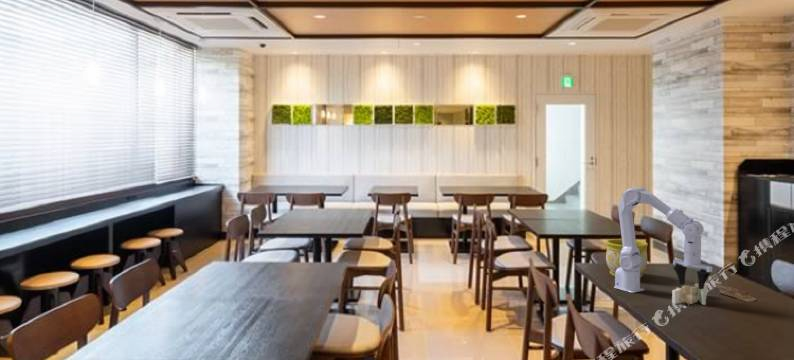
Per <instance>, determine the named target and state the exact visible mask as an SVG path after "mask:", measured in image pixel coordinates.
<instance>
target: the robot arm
mask: <svg viewBox="0 0 794 360" xmlns="http://www.w3.org/2000/svg"><path fill="white" fill-rule="evenodd" d="M621 196H622V197H621V199H620V202H619V203H618V205H617V207H618V208H617V209H618V215H619V217H618V219H619V225H620V226H619V227H620V233H621V234H620V235H621V236H620V237H621V239H622V244H623V248H622V250H621V257H620V260H619V263H620V266H621V267H619V268H618V269H617V270H616V273H615V277H614V286H613V288H614V289H618V290H621V291H624V292H628V293H631V294H635V293H637V292H643V291H645V288H641V278H640V265H641V264H642V262H643V259H642V256H641V255H640V252H639V249H638V248H637V246H636V240H637V239H636V233H635V224H634V223H635V222H634V214H633V209H634V208H635V207H637V206H638V205H639V204H644V205H649V206H652V207H653V208H654V209H656V210H657V211H659V212H661V213H662V214H664V215H665V217H666V220H667V221H668V222H670V223H671V224H672V225H674V226H675V227H676V228H677V229H679V230H681V231H682V234H683V235H684V241H683V242H684V246H683V247H684V248H683V260H681V259H673V261H672V266H673V270H674V271H675V273H676V274H677V278H678V282H679V285H682V286H683V285H685V283H686V272H687V268H689V269H694V270H697V271H696V274H697V278H698V279H697V281H698V283H697V284H698V287H699V289H703V288H704V285H705V283H706V282H707V280H708V278H709V276H710V275H711V273H712V272H713V266H711V265H707V264H703V263H701V259H702V258H701V257H702V234H703V232H704V225H703V224H702V223H701V222H700V221H697V220H694V218H693V217H689V216H688V215H686V214H685V213H684V211H683V210H682V209H678V208H672V207H670V206H669V205H667V204H666V203H665V202H663V200H661V199H659V197H657V196H656V195H655V194H653V193H652V192H651V191H650V190H648V189H646V188H644V187H643V186H639V187H632V188H627V189H626V190H625V191H624V192H622V194H621Z"/></svg>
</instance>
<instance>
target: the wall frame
mask: <svg viewBox="0 0 794 360" xmlns="http://www.w3.org/2000/svg"><path fill="white" fill-rule="evenodd" d="M693 286H695V287H696V286H698V283H694V285H693ZM703 290H704V291H705V292H706V296H707V297H708V283H706V282H705V285H704V288H703ZM682 293H683V289H682V287H675V289H672V291H671V294H672V296H671V304H673V305H676V304H683V301H682Z"/></svg>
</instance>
